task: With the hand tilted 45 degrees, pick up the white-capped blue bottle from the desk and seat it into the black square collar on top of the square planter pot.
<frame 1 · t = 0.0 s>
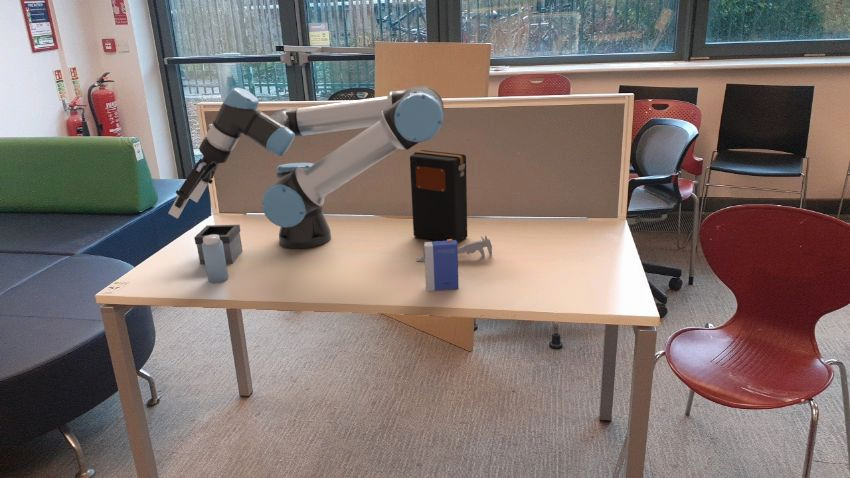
hand: (183, 207, 171), 15 cm above the table, tool tilted 35°, fingers open, 13 cm apart
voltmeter: (440, 238, 185), on the table
caliper: (454, 260, 170), on the table
white-capped blue bottle: (218, 279, 163), on the table
walkman: (442, 288, 153), on the table
square planter pot: (221, 257, 177), on the table
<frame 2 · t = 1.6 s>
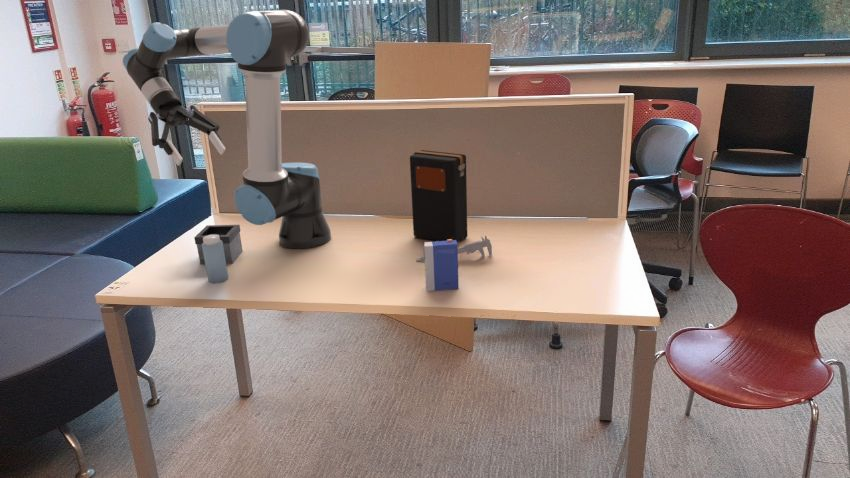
hand: (202, 157, 173), 27 cm above the table, tool tilted 45°, fingers open, 13 cm apart
nothing on the table moved.
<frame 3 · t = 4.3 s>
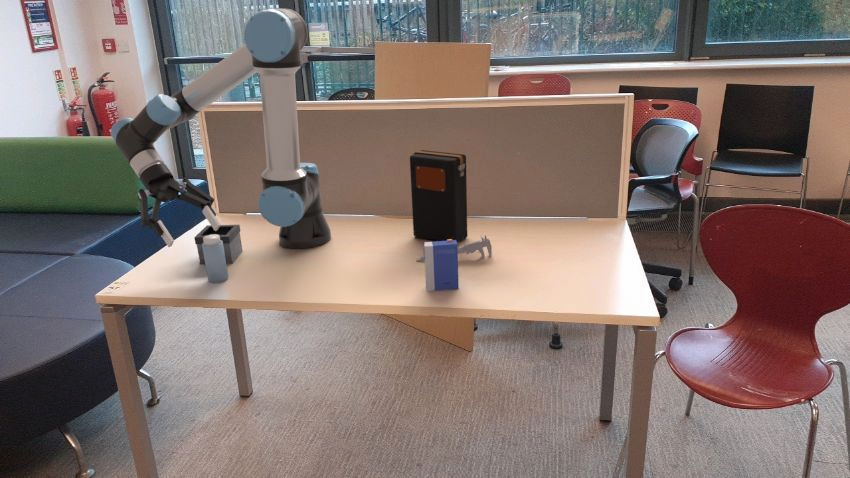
hand: (195, 235, 162), 11 cm above the table, tool tilted 45°, fingers open, 13 cm apart
nothing on the table moved.
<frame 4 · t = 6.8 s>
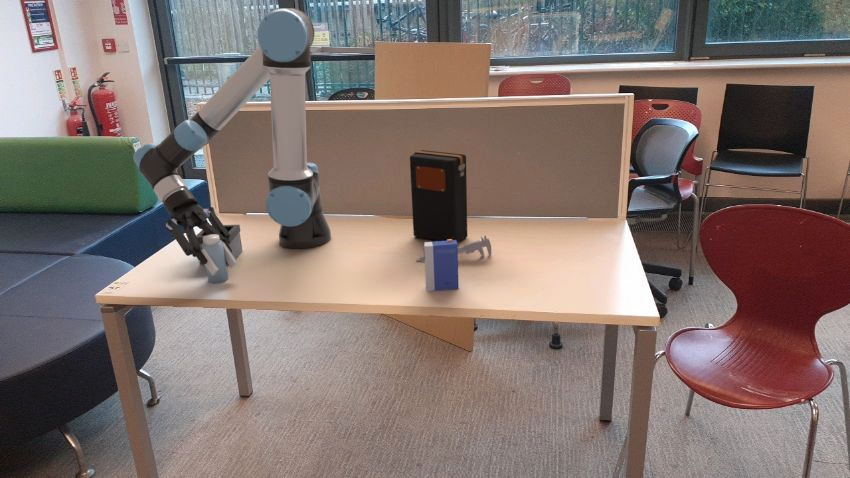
hand: (224, 268, 160), 4 cm above the table, tool tilted 45°, fingers closed on white-capped blue bottle, 5 cm apart
white-capped blue bottle: (218, 279, 163), on the table, touching gripper
everything else where it was.
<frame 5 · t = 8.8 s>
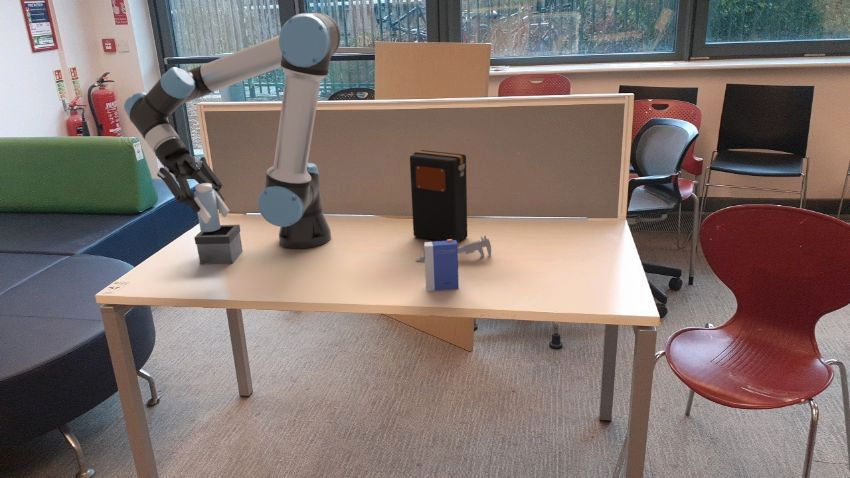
hand: (217, 216, 160), 16 cm above the table, tool tilted 45°, fingers closed on white-capped blue bottle, 5 cm apart
white-capped blue bottle: (210, 228, 163), point 12 cm above the table, touching gripper
everything else where it was.
when the fingers open (11 cm above the table, at t = 10.8 s): white-capped blue bottle drops 1 cm, resting on square planter pot.
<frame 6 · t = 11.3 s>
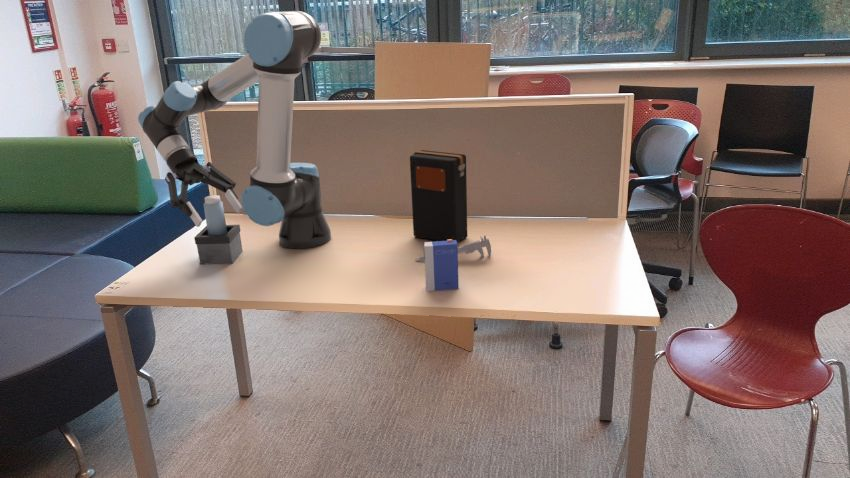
hand: (220, 217, 171), 12 cm above the table, tool tilted 45°, fingers open, 12 cm apart
white-capped blue bottle: (218, 237, 175), point 6 cm above the table, touching square planter pot
everything else where it was.
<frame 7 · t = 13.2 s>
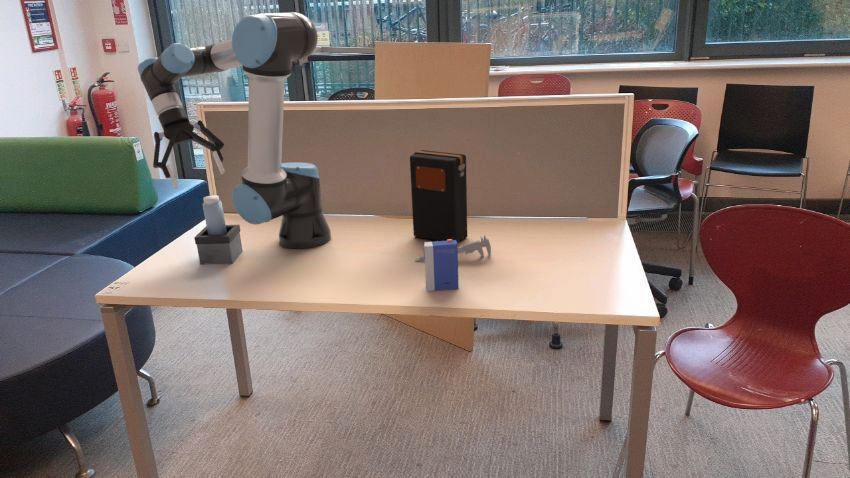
hand: (200, 180, 180), 20 cm above the table, tool tilted 30°, fingers open, 13 cm apart
nothing on the table moved.
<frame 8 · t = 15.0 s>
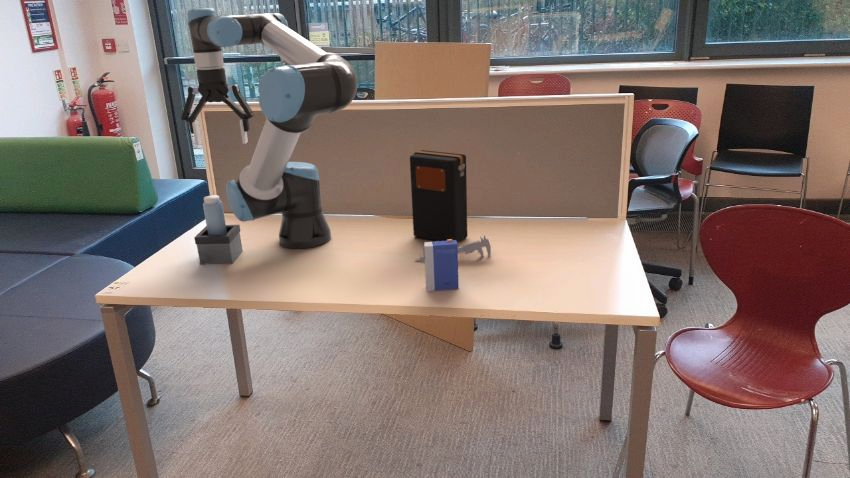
hand: (222, 143, 182), 29 cm above the table, tool pointing down, fingers open, 13 cm apart
nothing on the table moved.
at the end: white-capped blue bottle 0.1 cm off-centre on the square planter pot, point 6.0 cm above the square planter pot's base; white-capped blue bottle tilted 1°; the gripper is holding nothing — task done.
